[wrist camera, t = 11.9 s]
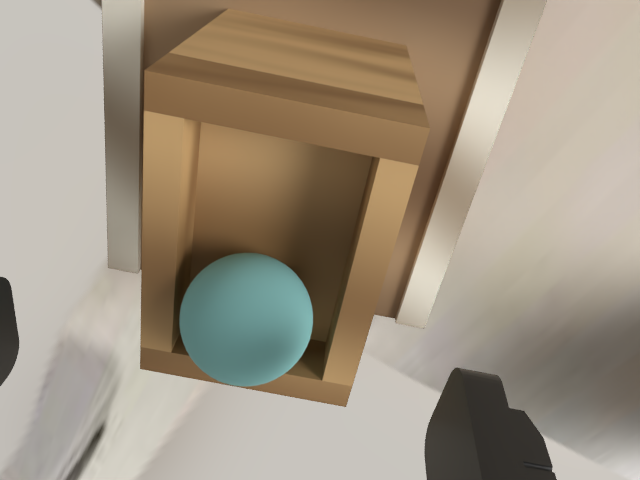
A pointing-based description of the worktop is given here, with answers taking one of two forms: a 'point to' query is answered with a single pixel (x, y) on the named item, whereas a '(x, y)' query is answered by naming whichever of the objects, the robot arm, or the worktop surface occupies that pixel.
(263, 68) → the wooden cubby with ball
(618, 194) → the worktop surface
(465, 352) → the worktop surface
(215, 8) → the dock
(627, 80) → the worktop surface
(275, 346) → the ball
